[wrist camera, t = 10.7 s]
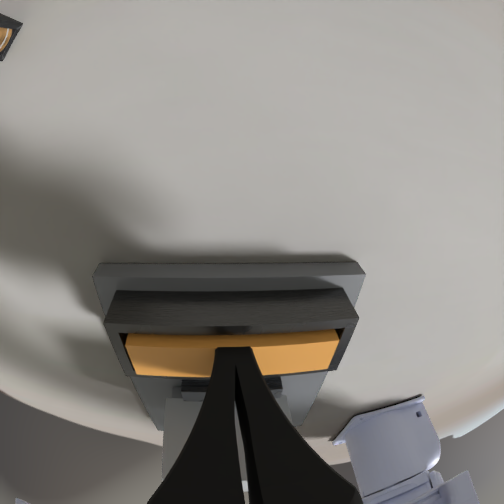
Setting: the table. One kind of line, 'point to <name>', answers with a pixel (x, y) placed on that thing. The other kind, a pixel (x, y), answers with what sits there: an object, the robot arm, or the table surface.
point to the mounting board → (228, 279)
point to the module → (182, 421)
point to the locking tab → (203, 346)
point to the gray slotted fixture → (228, 321)
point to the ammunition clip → (7, 33)
